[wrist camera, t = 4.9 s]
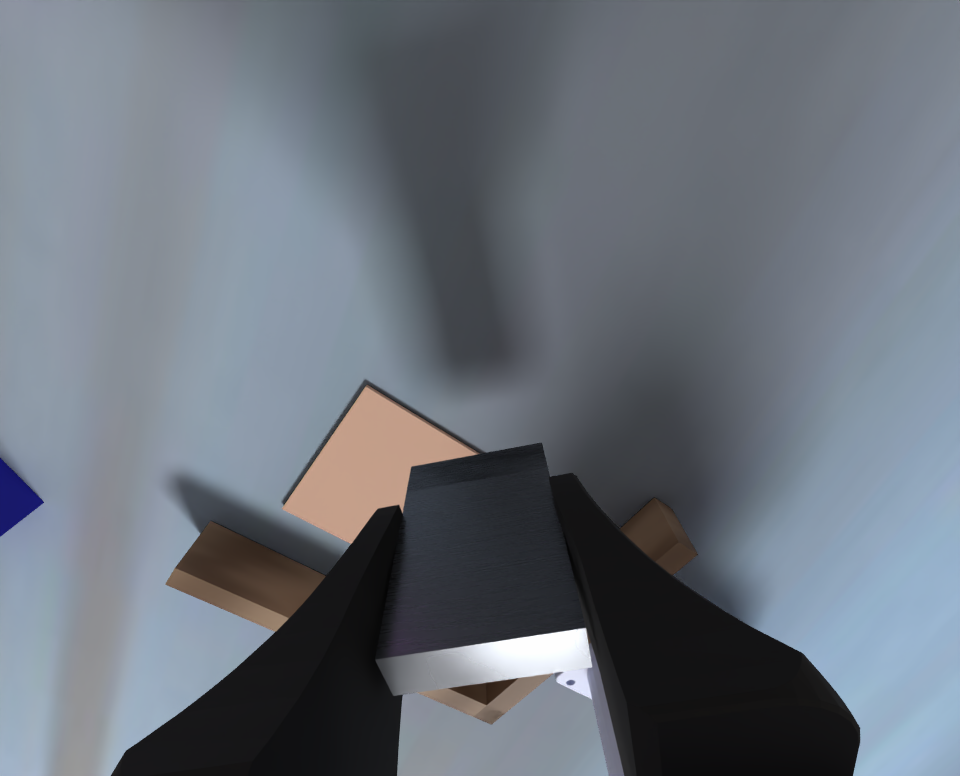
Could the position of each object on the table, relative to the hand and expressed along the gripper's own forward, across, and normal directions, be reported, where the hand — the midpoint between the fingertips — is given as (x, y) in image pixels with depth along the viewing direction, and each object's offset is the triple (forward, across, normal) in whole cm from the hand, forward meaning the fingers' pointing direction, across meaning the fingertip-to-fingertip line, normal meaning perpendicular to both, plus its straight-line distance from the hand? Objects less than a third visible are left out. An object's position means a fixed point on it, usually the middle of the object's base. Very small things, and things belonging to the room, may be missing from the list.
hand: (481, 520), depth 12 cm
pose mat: (+8, +4, +6) cm, 11 cm away
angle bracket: (+2, 0, +3) cm, 3 cm away
